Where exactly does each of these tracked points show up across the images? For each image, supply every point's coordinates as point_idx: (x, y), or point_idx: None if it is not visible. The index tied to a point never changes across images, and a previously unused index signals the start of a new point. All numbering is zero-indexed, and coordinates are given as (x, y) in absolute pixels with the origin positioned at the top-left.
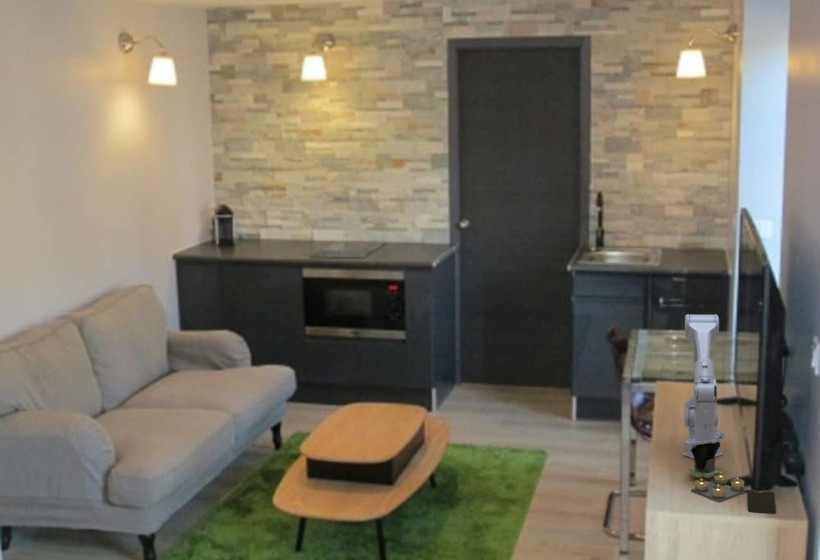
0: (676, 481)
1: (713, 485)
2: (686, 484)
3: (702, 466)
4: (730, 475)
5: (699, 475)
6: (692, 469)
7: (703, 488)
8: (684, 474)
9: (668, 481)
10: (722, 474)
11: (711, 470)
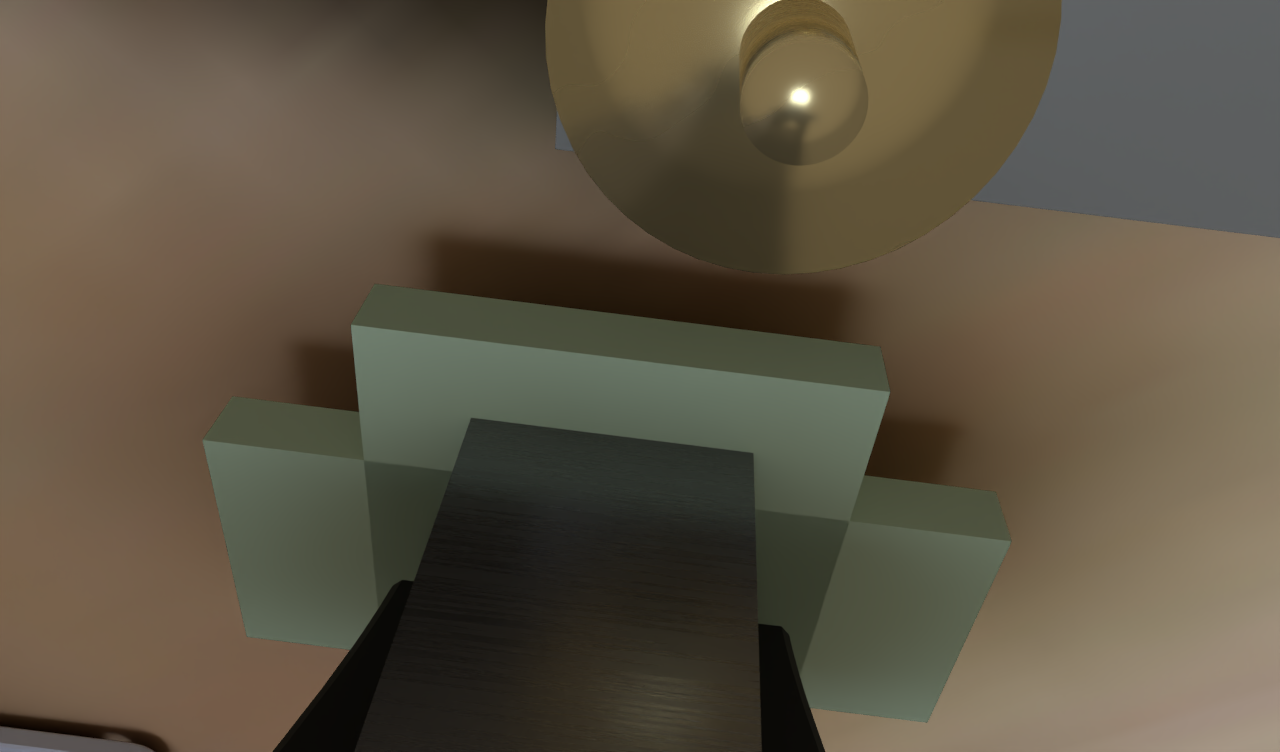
0: (1159, 668)
1: (1123, 2)
2: (1222, 510)
3: (797, 692)
4: (75, 138)
5: (968, 521)
6: None
7: None
8: None
9: (1228, 736)
10: (710, 30)
11: (599, 464)
